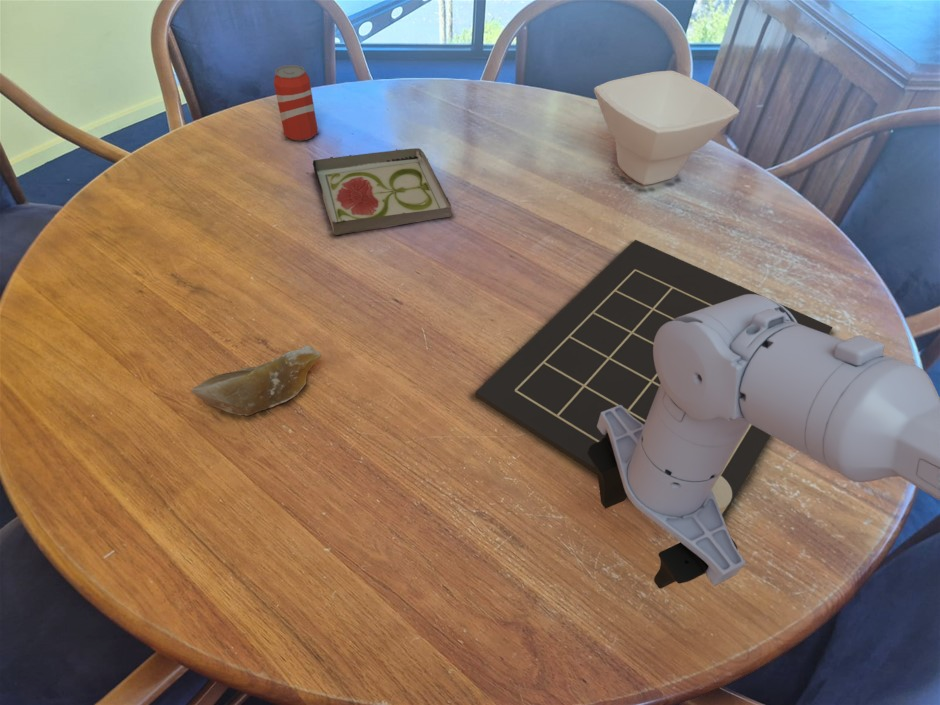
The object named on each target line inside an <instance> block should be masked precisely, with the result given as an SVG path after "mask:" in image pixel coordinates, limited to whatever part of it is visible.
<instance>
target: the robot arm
mask: <svg viewBox="0 0 940 705" xmlns="http://www.w3.org/2000/svg"><path fill="white" fill-rule="evenodd" d="M757 294H758V293H757ZM757 294H746V295H742V296H739V297H736V298H733V299H730V300H727V301H724V302H721V303H718V304H715V305H712V306H709V307H707V308H704V309H701V310H698V311H695V312H692V313H689V314H686V315H683V316H680V317H677V318H675V319H674V320H673V321H670V322H667V323H665V324H664V325H663V326H661V327H660V329H659V330H658V332H657V334H656V336H655V339H654V345H653V358H654V364H655V368H656V372H657V375H658V378H659V380H660V382H661V383H660V385H659V388H658V391H657V393H656V396H655V398H654V401H653V404H652V406H651V409H650V411H649V414H648V417H647V419H646V422H645V424H644V425H643V424H642V423H641V422H639V421H638V420H636V419H635V418H634V417H633V416H631V415H630V414H629V413H628V412H627V411H626V410H625V408H624V407H623V406H622V405H619V406H616V407H613V408H611V409H608V410H606V411H603V412H601V414H600V417H599V421H598V424H597V428H598V429H599V430H600V432H601V433H602V434H603V435H605V438H602V440H601V441H599V442H596V443H594V444H592V445H591V446H590V448H589V450H588V455H589V457H590V459H591V461H592V463H593V465H594V467H595V470H596V473H597V474H596V477H597V481H598V488H599V499H600V503H601V505H602V507H603V508H604V509H605V510H606V509H608V508H611V507H613V506H616V505H618V504H620V503H622V502H625V501H626V499H627V498H628V499H629V501H630V502H631V504H632V505H633V506H634V507H635V508H636V509H637V510H638V511H639V512H641V513H642V514H643V515H644V516H646V517H647V518H648V519H650V520H651V521H652V522H653V523H655V524H656V525H657V526H659V527H660V528H661V529H663V530H664V531H665V532H666V533H667V534H669V536H672V537H673V538H674V539H675V540H677V541H678V543H676V544H674V545H671V546H670V547H668V548H666V549H664V550H661V551H660V552H659V553H658V555H657V556H658V557H659V560H660V566H659V569H658V571H657V572H656V574H655V575H654V577H653V582H654V584H655V586H656V587H657V588H658V589H659V590H661V589H663V588H665V587H668V586H669V585H671V584H673V583H677V584H678V585H679V584H680V585H681V584H684V583H688V582H691V581H693V580H694V579H697V578H699V577H701V576H703V575H704V574H705V576H706V577H707V579H708V580H709V581H710V582H711V584H712V586H714V587H715V586H717V585H719V584H721V583H723V582H725V581H728V580H729V579H732V578H733V577H735V576H737V575H738V574H739V573H740V571H741V570H742V569H743V568H744V566H745V565H746V563H747V561H746V560H745V559H744V556H742V555H741V553H740V552H739V549H738V546H737V543H736V542H735V540H734V539H733V538H732V537H731V534H730V532H729V529H728V527H727V524H726V521H725V519H724V518H723V516H722V514H721V511H720V509H719V506H718V504H717V501H716V499H715V496H714V494H713V491H712V488H713V486H714V484H715V483H716V481H717V479H718V478H719V476H720V474H721V473H722V471H723V469H724V468H725V465H726V464H727V462H728V460H729V459H730V457H731V455H732V454H733V452H734V450H735V448H736V447H737V445H738V443H739V442H740V440H741V438H742V437H743V435H744V434H745V432H746V430H747V429H748V427H749V425H750V424H752V425H753V426H755V427H757V428H759V429H760V430H762V431H764V432H766V433H767V434H769V435H771V436H770V437H773V438H775V439H776V440H778V441H780V442H782V443H783V444H785V445H787V446H789V447H790V448H793V449H794V450H796V451H798V452H799V453H801V454H803V455H805V456H806V457H808V458H810V459H812V460H813V461H816V462H817V463H819V464H821V465H822V466H824V467H826V468H828V469H830V470H831V471H834V472H835V473H837V474H839V475H840V476H842V477H843V478H846V479H848V480H850V481H852V482H856V483H869V482H874V481H879V480H882V479H887V478H891V477H892V478H895V477H896V478H897V477H898V478H902V479H903V480H904V481H906V482H908V483H909V484H911V485H913V486H915V487H916V488H919V490H921V491H923V492H924V493H926V494H928V495H930V496H931V497H933V498H935V499H936V500H937V501H940V396H939V394H938V391H937V389H936V387H935V384H934V382H933V381H932V379H931V377H930V376H929V374H928V373H927V372H926V371H925V370H924V369H923V368H921V367H919V366H917V365H914V364H912V363H909V362H906V361H903V360H900V359H898V358H896V357H892V356H889V355H887V354H884V350H885V345H884V343H883V342H881V341H878V340H875V339H872V338H869V337H867V336H863V335H861V334H860V335H859V334H858V335H856V336H854V337H851V338H849V339H842V338H839V337H836V336H834V335H832V334H829V335H828V334H825V333H823V332H820V331H817V330H814V329H811V328H809V327H806V326H803V325H801V324H798V323H797V321H796V319H795V318H794V317H793V315H792V314H791V313H790V312H789V311H788V310H787V309H786V308H784V306H785V305H784V306H782V305H783V304H782V303H779V302H777V301H775V300H773V299H770V298H768V297H766V296H764V295H761V294H759V295H757ZM760 295H761V296H760ZM772 300H773V301H772ZM781 304H782V305H781Z"/></svg>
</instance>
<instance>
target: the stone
mask: <svg viewBox="0 0 940 705" xmlns="http://www.w3.org/2000/svg"><path fill="white" fill-rule="evenodd" d="M321 357H322V353H321V352H320V351H318V350H316V349H315V348H313V347H312V346H310V345H308V344H306V345H304V346H303V347H301V348H298V349H294V350H291V351H288V352H285V353H284V354H283V355H280V356H278V357H276V358H274V359H272V360H271V361H268V362H266V363H263V364H259V365H257V366H247V367H245V368H241V369H239V370H235V371H231V372H225V373H220V374H217V375H215V376H212V377H210V378H208V379H205V380H204V381H203V382H201V383H200V384H199V385H196V386H195V387H193V388H192V389H191V390H190V392H191V394H193V395H194V396H196V398H198V399H199V400H201V401H203V402H204V403H205V404H207V405H208V406H210V407H212V408H213V407H214V408H216V409H219V410H222V411H223V412H226V413H230V414H232V415H236V416H252V415H253V414H256V413H258V412H261V411H264V410H267V409H270V408H273V407H276V406H278V405H281V404H283V403H286V402H288V401H289V400H292V399H293V398H295V397H296V396H297V395H298V394H299V393H300V392H301V391H302V389H303V388H304V387H305V385H307V376H308V373H309V371H310V370H311V369H312V367H313V366H314V365H315V364H316V363H317V362H318V361H319V360H320V358H321Z"/></svg>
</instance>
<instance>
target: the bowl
mask: <svg viewBox="0 0 940 705" xmlns="http://www.w3.org/2000/svg"><path fill="white" fill-rule="evenodd" d="M593 93H594V95H595V97H596V100H597V103H598V106H599V109H600V111H601V114H602V116H603V117H602V118H603V119H604V122H605V124H606V127H607V130H608V132H609V133H610V134H611V135H612V137H613V138H614V141H615V151H616V161H617V165H618V167H619V168H620V170H621V171H622V172H623V173H624V174H626V175H627V176H628V177H629V178H631V179H632V180H634V181H635V182H637V183H639V184H641V185H644V186H646V185H653V184H654V185H655V184H657V183H661V182H664V181H667V180H671V179H673V178H675V177H676V176H677V175H679V173H680V171H682V168H683V167H684V166H685V164H686V163H687V161H688V160H689V158H690V157H691V155H692V154H693V153H694V152H696V151H697V150H700V149H702V148H703V147H704V146H706V145H707V144H708V143H709V142H710V141H711V140H712V139H713V138H714V137H715V136H716V135H718V134H719V133H720V132H721V131H722V130H723V129H724V128H725V127H726V126H727V125H728V124H730V123H731V121H733V120H734V119H735V118H736V117H737V116H739V114H740V110H739V108H738V107H736V106H735V105H734V104H733V103H732V102H731V101H730V100H728V99H727V98H726V97H725V96H723V95H722V94H720V93H719V92H717V91H715V90H714V89H712V88H711V87H709V86H707V85H706V84H704V83H701V82H700V81H698V80H695V79H693V78H692V77H690V76H688V75H685V74H682V73H679V72H677V71H675V70H662V71H661V70H659V71H651V72H646V73H640V74H635V75H630V76H626V77H622V78H617V79H613V80H609V81H607V82H604V83H601V84H599V85H597V86H595V87H594V88H593Z"/></svg>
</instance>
